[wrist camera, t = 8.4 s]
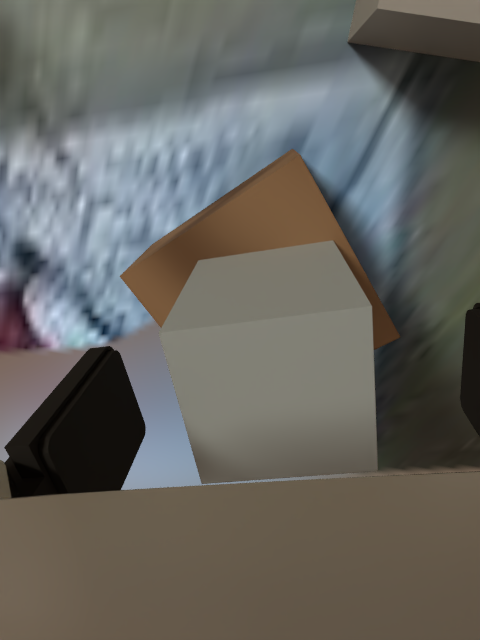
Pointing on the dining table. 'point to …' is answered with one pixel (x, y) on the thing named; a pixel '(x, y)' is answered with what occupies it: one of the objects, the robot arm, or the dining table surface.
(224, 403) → the painted block
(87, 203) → the dining table surface
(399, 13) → the grey block
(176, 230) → the walnut block
